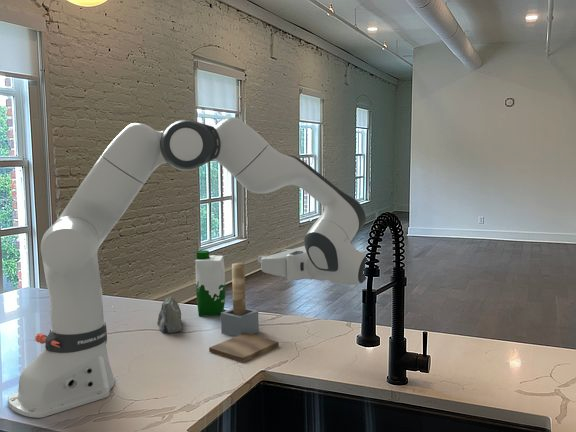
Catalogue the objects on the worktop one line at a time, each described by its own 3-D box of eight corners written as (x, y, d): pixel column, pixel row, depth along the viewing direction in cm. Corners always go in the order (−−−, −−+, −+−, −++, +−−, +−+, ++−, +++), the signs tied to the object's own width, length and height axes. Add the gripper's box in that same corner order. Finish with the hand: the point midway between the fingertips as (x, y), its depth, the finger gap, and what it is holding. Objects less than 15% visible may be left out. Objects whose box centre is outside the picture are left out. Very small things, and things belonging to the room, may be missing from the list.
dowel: (240, 335, 162) (238, 266, 160) (231, 332, 165) (229, 264, 162) (248, 331, 165) (247, 263, 162) (239, 329, 167) (237, 262, 165)
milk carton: (200, 308, 188) (197, 248, 185) (227, 308, 188) (225, 248, 185) (195, 317, 179) (192, 254, 176) (223, 316, 179) (221, 254, 176)
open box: (240, 338, 160) (240, 317, 159) (221, 333, 164) (220, 312, 164) (258, 331, 166) (258, 310, 165) (239, 325, 170) (239, 306, 169)
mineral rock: (171, 318, 179) (169, 286, 178) (200, 322, 175) (199, 290, 173) (145, 331, 167) (143, 297, 166) (176, 335, 163) (174, 301, 162)
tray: (242, 362, 143) (242, 357, 143) (209, 351, 150) (209, 347, 150) (278, 346, 154) (278, 341, 153) (245, 336, 161) (245, 332, 161)
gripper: (335, 242, 153) (294, 237, 162) (287, 256, 137) (245, 250, 146) (335, 265, 154) (294, 259, 163) (288, 282, 138) (245, 274, 147)
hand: (270, 255), depth 154 cm, fingers open, 8 cm apart
